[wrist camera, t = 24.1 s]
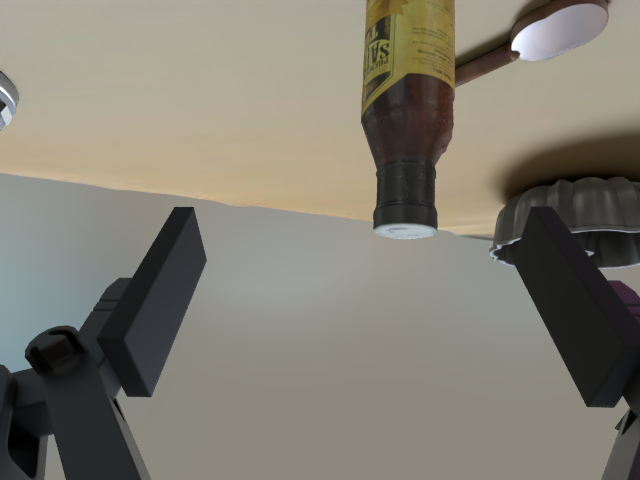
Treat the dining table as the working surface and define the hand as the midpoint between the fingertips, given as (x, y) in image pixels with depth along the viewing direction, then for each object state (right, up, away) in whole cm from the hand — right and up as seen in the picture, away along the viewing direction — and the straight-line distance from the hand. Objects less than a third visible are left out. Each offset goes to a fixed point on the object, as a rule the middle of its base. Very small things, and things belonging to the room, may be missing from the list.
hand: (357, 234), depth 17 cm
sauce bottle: (+5, +20, +14) cm, 25 cm away
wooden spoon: (+13, +17, +23) cm, 31 cm away
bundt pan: (+40, +7, +52) cm, 66 cm away
